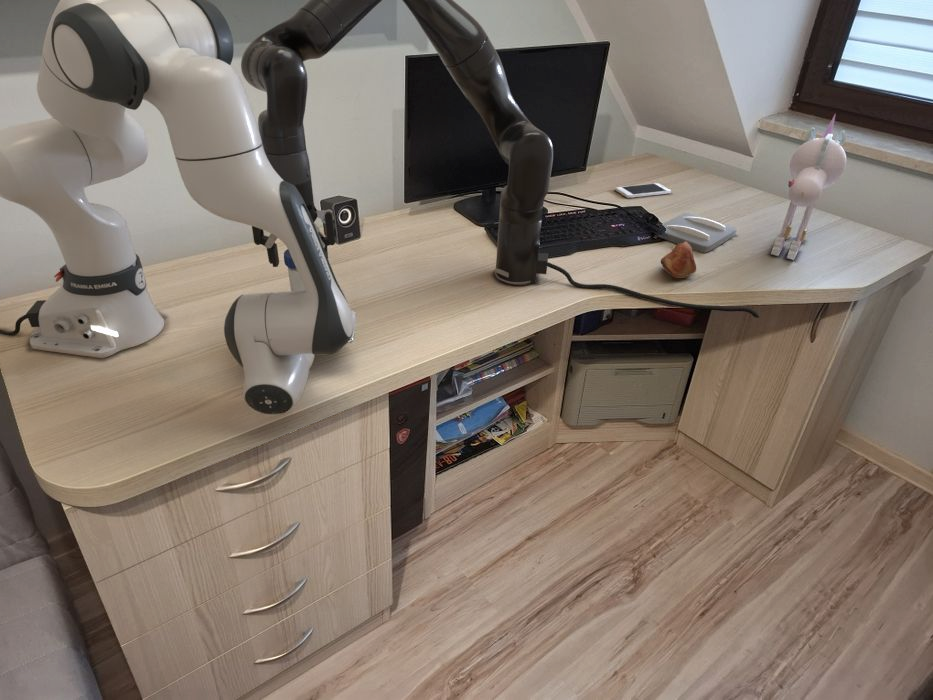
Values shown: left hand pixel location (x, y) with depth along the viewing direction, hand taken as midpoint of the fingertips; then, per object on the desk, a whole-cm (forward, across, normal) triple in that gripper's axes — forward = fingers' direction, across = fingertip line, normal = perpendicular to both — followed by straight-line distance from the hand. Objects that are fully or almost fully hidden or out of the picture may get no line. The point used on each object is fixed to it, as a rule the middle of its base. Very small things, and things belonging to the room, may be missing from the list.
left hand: (306, 303), depth 119 cm
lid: (-1, 0, -10) cm, 11 cm away
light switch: (+51, -91, +6) cm, 105 cm away
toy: (+49, -117, +6) cm, 127 cm away
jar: (-1, 0, +6) cm, 6 cm away
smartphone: (+83, -86, +6) cm, 119 cm away
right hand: (0, 0, -8) cm, 8 cm away
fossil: (+28, -80, +6) cm, 85 cm away
